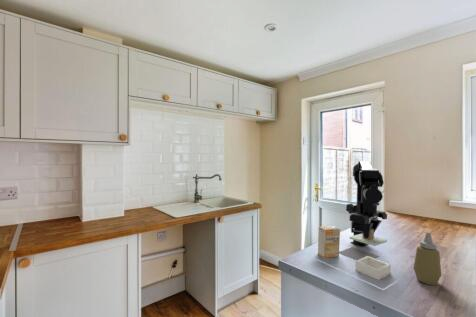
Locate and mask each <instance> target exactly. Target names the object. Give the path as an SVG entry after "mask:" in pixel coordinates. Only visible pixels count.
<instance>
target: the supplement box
mask: <svg viewBox="0 0 476 317" xmlns="http://www.w3.org/2000/svg"><path fill="white" fill-rule="evenodd" d="M340 237H341V227H340V228H339V227H338V226H336V225H327V226H326V225H325V226H324V225H323V226H318V238H317V239H318V240H317V241H318V242H317V255H319V256H320V257H322V258H323V259H325V258H326V259H327V258H333V257H339V256H340V254H339V252H340V244H341V243H340V241H341V240H340Z"/></svg>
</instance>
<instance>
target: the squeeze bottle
mask: <svg viewBox="0 0 476 317" xmlns="http://www.w3.org/2000/svg"><path fill="white" fill-rule="evenodd" d="M440 256H441V254H440V251H439V249H437V244H436V242H433V238H432V234H431V232H428V231H427V232H425V236H424V238H423V240H420V241H419V245H418V246H416V251H415V256H414V263H413V271H414V274H415V278H416V280H418V281H419V282H421V283H423V284H426V285H433V286H434V285H437V284H438V283H439V281H440V278H441V277H442V268H441V267H442V266H441V257H440Z"/></svg>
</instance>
